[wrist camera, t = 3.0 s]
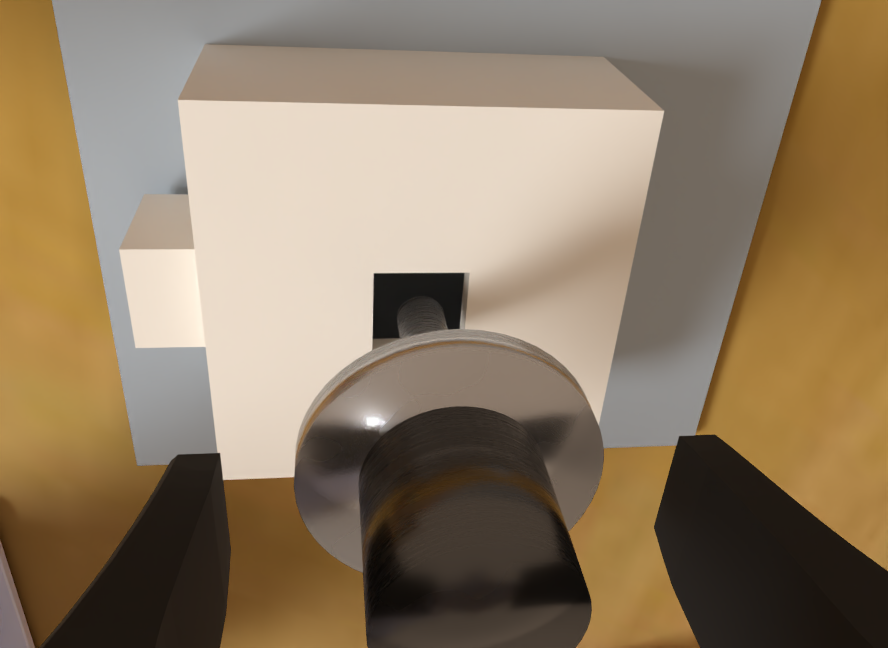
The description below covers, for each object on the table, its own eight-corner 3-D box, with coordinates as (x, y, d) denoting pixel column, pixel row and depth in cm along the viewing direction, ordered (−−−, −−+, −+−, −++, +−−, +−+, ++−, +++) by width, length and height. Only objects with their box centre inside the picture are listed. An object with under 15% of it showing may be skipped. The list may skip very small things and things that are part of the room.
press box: (552, 371, 24) (590, 464, 20) (175, 380, 22) (149, 482, 19) (603, 56, 19) (664, 110, 16) (128, 41, 17) (81, 97, 14)
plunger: (522, 406, 19) (627, 722, 12) (304, 413, 18) (294, 751, 12) (550, 208, 16) (703, 478, 10) (296, 207, 16) (278, 497, 9)
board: (685, 432, 26) (692, 444, 26) (141, 452, 24) (137, 465, 24) (858, -181, 17) (873, -181, 17) (17, -246, 15) (6, -248, 15)
